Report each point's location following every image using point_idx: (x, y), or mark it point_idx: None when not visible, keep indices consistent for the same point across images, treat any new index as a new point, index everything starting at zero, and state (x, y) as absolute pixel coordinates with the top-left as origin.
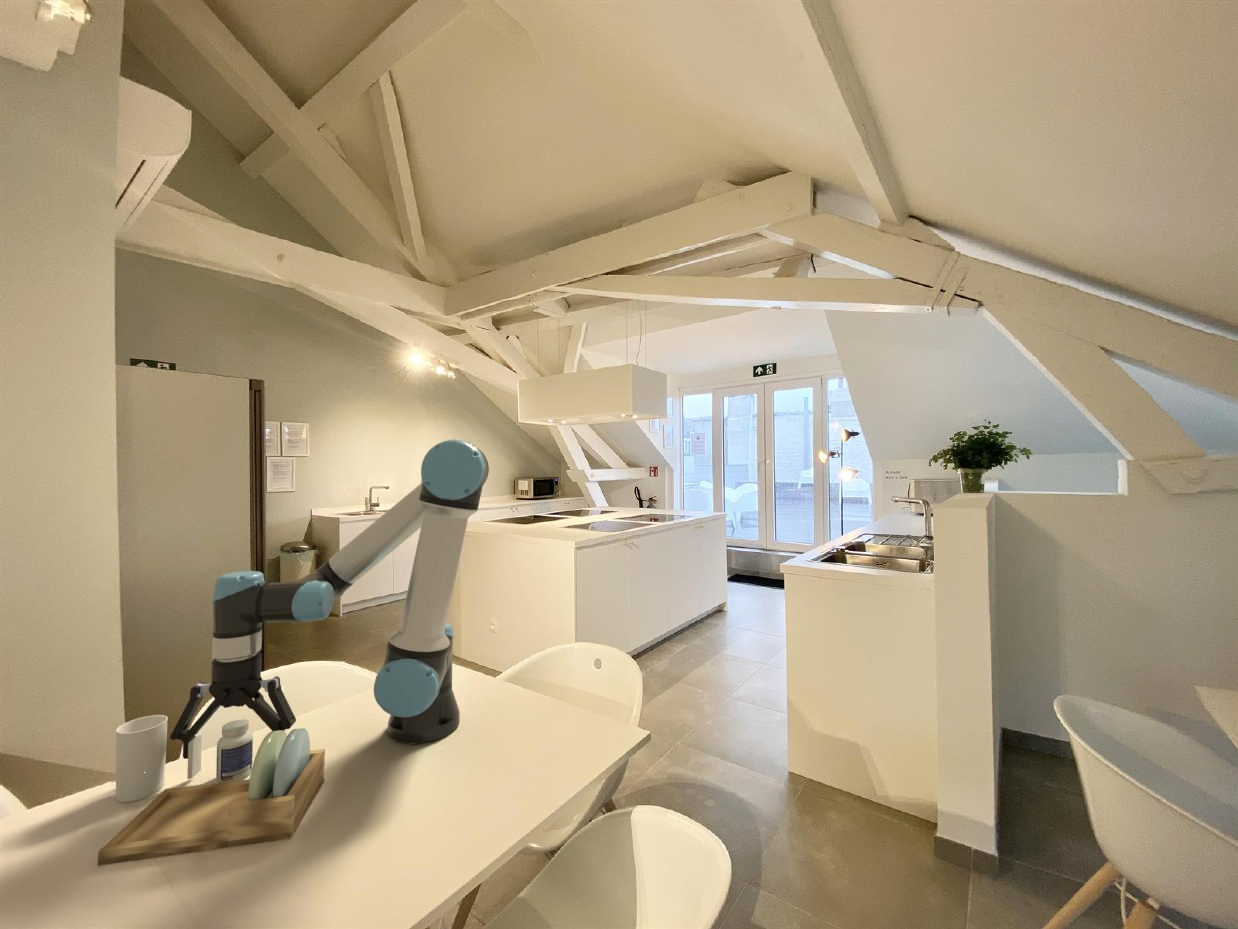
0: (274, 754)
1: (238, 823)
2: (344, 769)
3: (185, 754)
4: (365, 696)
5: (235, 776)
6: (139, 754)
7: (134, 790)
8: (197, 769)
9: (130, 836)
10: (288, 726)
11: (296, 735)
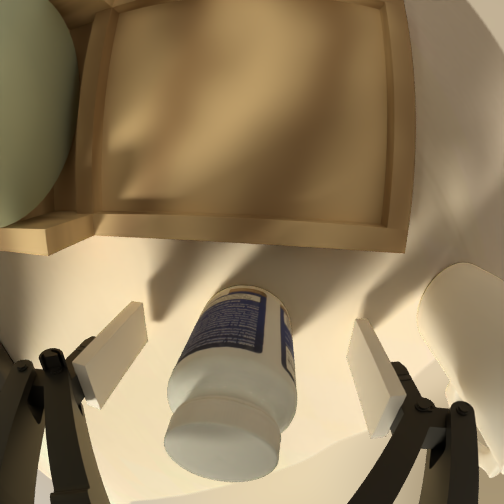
0: None
1: None
2: (14, 267)
3: (400, 371)
4: (134, 495)
5: (222, 294)
6: None
7: (471, 271)
8: (352, 349)
9: (382, 51)
10: (19, 363)
11: None
